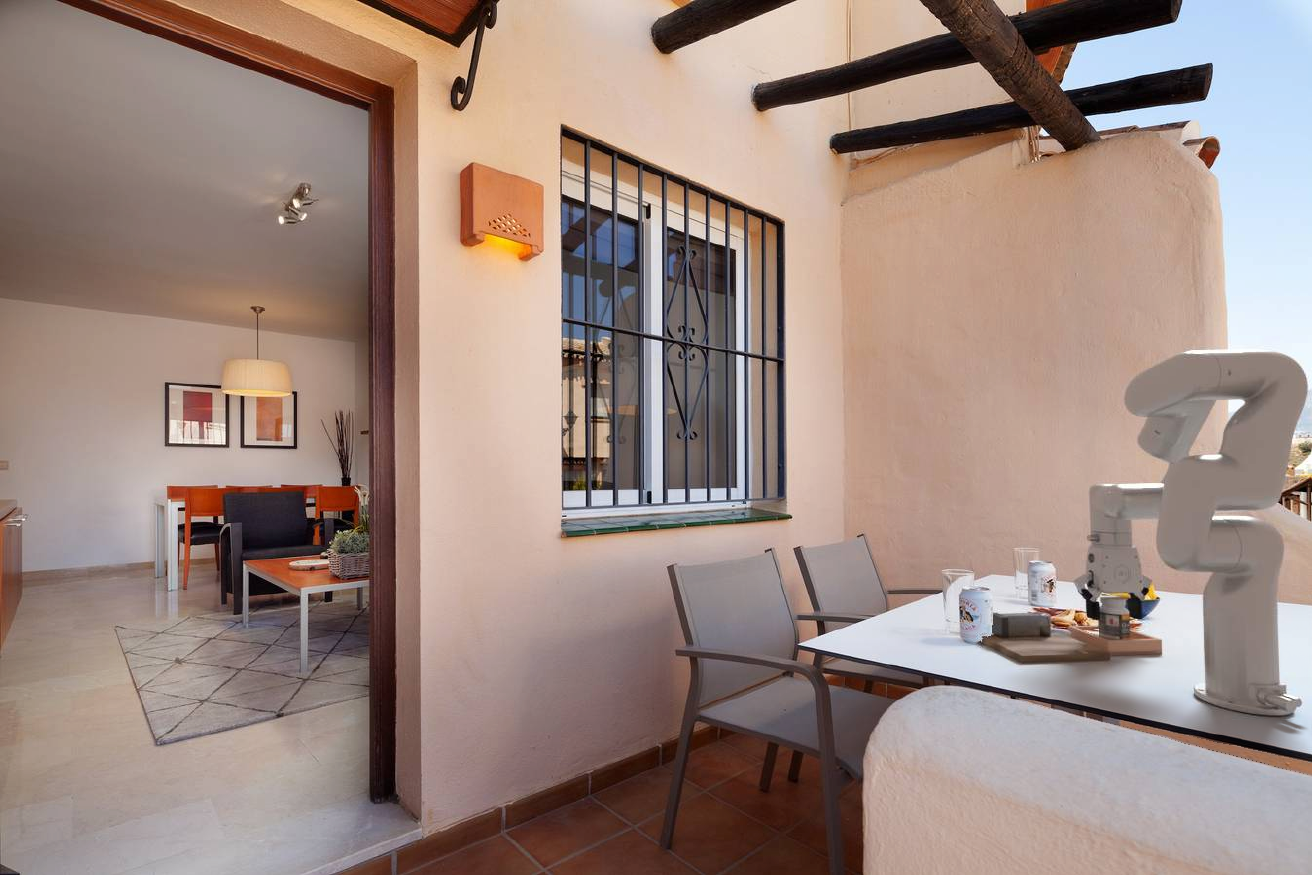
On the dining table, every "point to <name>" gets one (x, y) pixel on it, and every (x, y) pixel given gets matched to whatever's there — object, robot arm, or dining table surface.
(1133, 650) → the tray
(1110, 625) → the pill bottle
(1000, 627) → the grey block
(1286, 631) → the dining table surface
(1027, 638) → the cutting board
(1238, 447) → the robot arm
